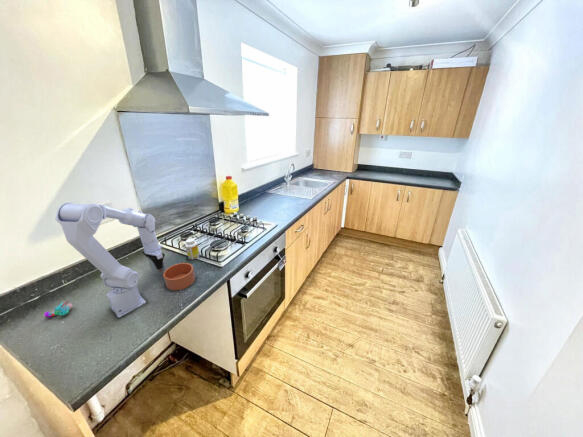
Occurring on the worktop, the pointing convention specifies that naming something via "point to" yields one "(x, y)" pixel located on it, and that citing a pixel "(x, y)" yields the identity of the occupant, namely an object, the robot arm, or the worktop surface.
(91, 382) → the worktop surface
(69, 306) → the multicoloured toy
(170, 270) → the terracotta round bowl
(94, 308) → the worktop surface
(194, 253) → the supplement bottle
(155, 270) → the steel cup
